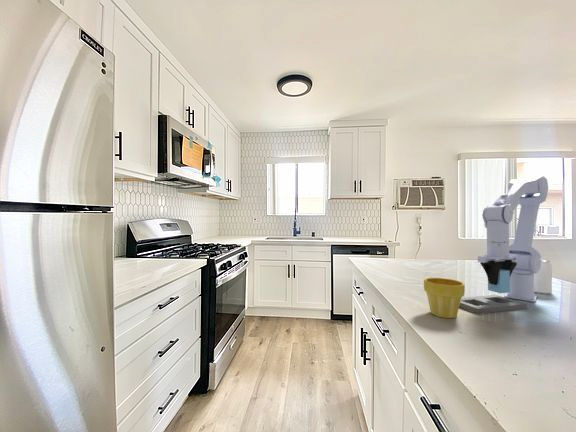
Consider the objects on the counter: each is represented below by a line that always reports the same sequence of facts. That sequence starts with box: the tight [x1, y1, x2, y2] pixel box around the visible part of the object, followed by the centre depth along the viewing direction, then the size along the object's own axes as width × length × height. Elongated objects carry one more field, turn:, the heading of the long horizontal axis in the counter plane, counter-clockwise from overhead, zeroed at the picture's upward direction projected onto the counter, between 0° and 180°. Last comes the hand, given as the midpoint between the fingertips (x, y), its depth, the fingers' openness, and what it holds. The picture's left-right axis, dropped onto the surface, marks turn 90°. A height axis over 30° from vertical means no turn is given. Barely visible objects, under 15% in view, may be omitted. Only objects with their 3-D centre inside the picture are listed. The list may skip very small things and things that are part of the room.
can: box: [534, 259, 553, 295], centre depth 100 cm, size 6×6×12 cm
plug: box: [487, 269, 510, 294], centre depth 86 cm, size 4×4×7 cm
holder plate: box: [459, 294, 528, 315], centre depth 84 cm, size 10×19×2 cm, turn 104°
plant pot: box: [423, 277, 466, 319], centre depth 77 cm, size 10×10×10 cm
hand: (498, 283), depth 86 cm, fingers closed on plug, 4 cm apart
